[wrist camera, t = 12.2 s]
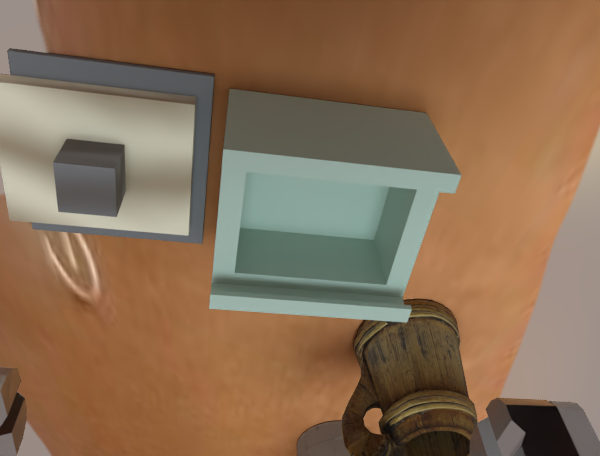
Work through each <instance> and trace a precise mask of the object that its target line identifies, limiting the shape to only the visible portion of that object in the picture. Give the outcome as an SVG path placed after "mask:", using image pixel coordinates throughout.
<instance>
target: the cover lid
mask: <svg viewBox="0 0 600 456" xmlns="http://www.w3.org/2000/svg"><path fill="white" fill-rule="evenodd" d="M196 101H197V97H193V96H184V95H176V94H167V93H159V92H150V91H142V90H134V89H125V88H117V87H108V86H100V85H91V84H83V83H75V82H66V81H58V80H49V79H41V78H32V77H24V76H16V75H7V74H0V166H1V172H2V178H3V184H4V189H5V195H6V201H7V207H8V213H9V218H10V220H11V221H23V222H35V223H46V224H58V225H70V226H81V227H93V228H105V229H116V230H128V231H139V232H151V233H163V234H174V235H186V236H188V235H189V229H190V217H191V198H192V179H193V159H194V140H195V121H196Z"/></svg>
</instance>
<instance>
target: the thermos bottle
mask: <svg viewBox="0 0 600 456" xmlns="http://www.w3.org/2000/svg"><path fill="white" fill-rule="evenodd" d="M341 430H342V421H332V422H326V423H322V424H319V425H316V426H314V427H312V428H310V429H308V430H307V431H306V432H304V433H303V434H302V435H301V437H300V438H299V440H298V443H297V456H351V455H350V454H349V452H348V450H347V449H346V447H345V444H344V440H343V436H342V432H341Z"/></svg>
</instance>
